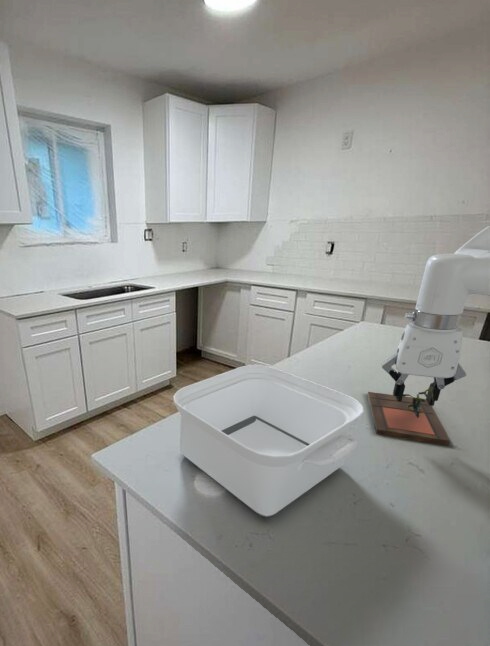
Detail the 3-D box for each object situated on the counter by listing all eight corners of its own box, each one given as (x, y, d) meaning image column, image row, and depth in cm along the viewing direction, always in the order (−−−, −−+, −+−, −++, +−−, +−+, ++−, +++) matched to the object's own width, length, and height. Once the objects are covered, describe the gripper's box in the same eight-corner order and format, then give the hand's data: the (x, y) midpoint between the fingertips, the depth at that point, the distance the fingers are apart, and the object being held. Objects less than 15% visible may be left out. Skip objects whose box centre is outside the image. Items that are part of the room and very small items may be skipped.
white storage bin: (156, 449, 81) (153, 390, 75) (244, 409, 96) (248, 357, 90) (282, 554, 55) (293, 477, 49) (376, 477, 70) (393, 411, 64)
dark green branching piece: (430, 421, 74) (440, 394, 72) (395, 413, 77) (403, 386, 75) (430, 405, 80) (439, 379, 78) (398, 398, 83) (406, 372, 81)
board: (426, 403, 96) (427, 398, 95) (448, 445, 79) (450, 440, 78) (367, 395, 101) (367, 391, 100) (376, 433, 84) (377, 428, 83)
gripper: (388, 322, 71) (371, 403, 78) (497, 328, 65) (467, 415, 72) (383, 312, 77) (367, 388, 85) (481, 317, 71) (455, 398, 79)
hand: (413, 400), depth 78 cm, fingers closed on dark green branching piece, 5 cm apart
